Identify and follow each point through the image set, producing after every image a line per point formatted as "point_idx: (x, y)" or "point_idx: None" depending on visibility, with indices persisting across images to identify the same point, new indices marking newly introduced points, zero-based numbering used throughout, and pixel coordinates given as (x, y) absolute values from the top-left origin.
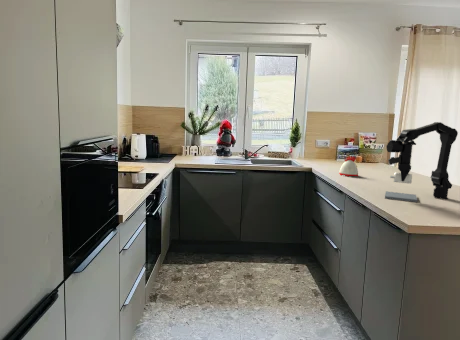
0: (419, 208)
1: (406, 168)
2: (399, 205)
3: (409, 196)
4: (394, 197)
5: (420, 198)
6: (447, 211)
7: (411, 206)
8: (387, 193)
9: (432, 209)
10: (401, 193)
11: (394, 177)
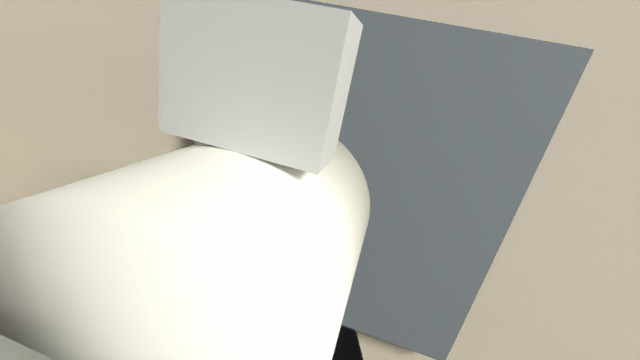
0: (21, 198)
1: None
2: (13, 80)
3: None
4: None
5: (371, 349)
6: None
7: (40, 164)
8: (397, 45)
9: None
10: (465, 236)
11: (197, 143)
